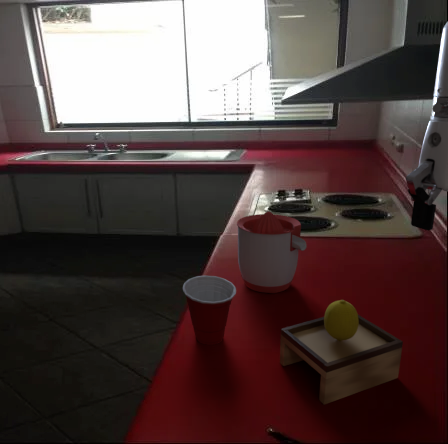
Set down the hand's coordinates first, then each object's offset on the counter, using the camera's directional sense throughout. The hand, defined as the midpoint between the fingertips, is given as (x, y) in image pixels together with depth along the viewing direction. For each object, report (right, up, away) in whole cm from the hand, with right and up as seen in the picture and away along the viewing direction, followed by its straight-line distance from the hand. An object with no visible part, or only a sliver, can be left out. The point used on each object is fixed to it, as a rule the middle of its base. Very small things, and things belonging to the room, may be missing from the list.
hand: (444, 222), depth 65 cm
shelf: (-12, -27, +11) cm, 32 cm away
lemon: (-12, -21, +9) cm, 26 cm away
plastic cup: (-34, -24, +23) cm, 48 cm away
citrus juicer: (-15, -17, +45) cm, 50 cm away
